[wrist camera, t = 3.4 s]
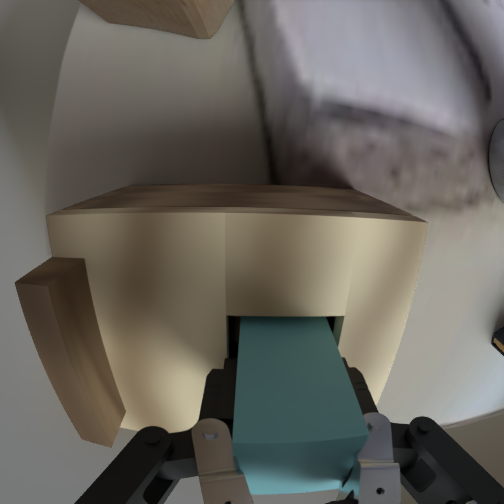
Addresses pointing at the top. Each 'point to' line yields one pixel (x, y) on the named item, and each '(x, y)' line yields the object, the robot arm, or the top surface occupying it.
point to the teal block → (293, 406)
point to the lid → (205, 300)
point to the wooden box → (241, 198)
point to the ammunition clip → (499, 340)
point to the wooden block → (166, 14)
